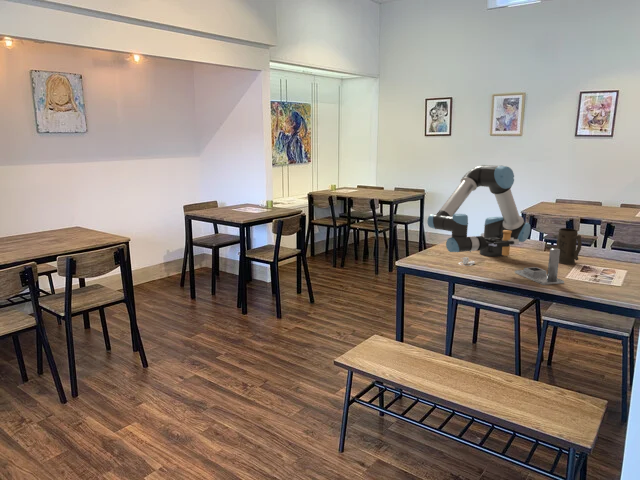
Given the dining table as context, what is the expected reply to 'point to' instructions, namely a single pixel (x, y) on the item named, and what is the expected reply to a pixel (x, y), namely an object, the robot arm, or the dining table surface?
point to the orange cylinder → (506, 237)
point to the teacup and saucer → (466, 261)
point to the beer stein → (568, 245)
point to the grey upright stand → (540, 274)
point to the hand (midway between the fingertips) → (515, 241)
